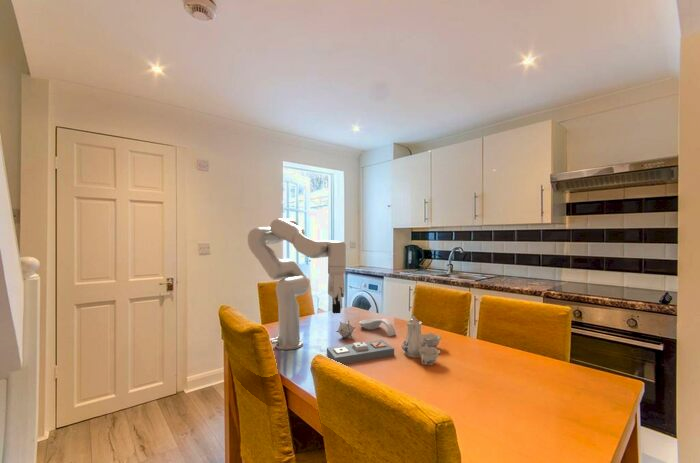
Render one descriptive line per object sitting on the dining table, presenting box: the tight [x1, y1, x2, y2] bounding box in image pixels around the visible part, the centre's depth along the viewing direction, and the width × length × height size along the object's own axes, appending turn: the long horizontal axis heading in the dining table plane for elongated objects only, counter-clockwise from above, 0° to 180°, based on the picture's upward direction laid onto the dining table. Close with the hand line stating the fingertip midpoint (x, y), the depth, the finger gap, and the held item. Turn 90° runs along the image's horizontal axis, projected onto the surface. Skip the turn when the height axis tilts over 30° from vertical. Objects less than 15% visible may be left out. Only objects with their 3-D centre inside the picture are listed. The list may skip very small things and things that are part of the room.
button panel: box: [326, 339, 395, 365], centre depth 137 cm, size 26×12×3 cm, turn 110°
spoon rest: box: [358, 318, 397, 337], centre depth 171 cm, size 24×12×7 cm, turn 37°
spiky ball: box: [335, 320, 355, 340], centre depth 160 cm, size 9×8×10 cm
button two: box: [352, 341, 368, 351], centre depth 137 cm, size 5×5×3 cm
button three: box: [371, 342, 386, 348], centre depth 140 cm, size 5×5×3 cm
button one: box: [334, 347, 349, 354], centre depth 134 cm, size 5×5×3 cm
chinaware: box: [401, 315, 442, 366], centre depth 136 cm, size 28×17×17 cm, turn 168°
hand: (336, 312), depth 138 cm, fingers closed
